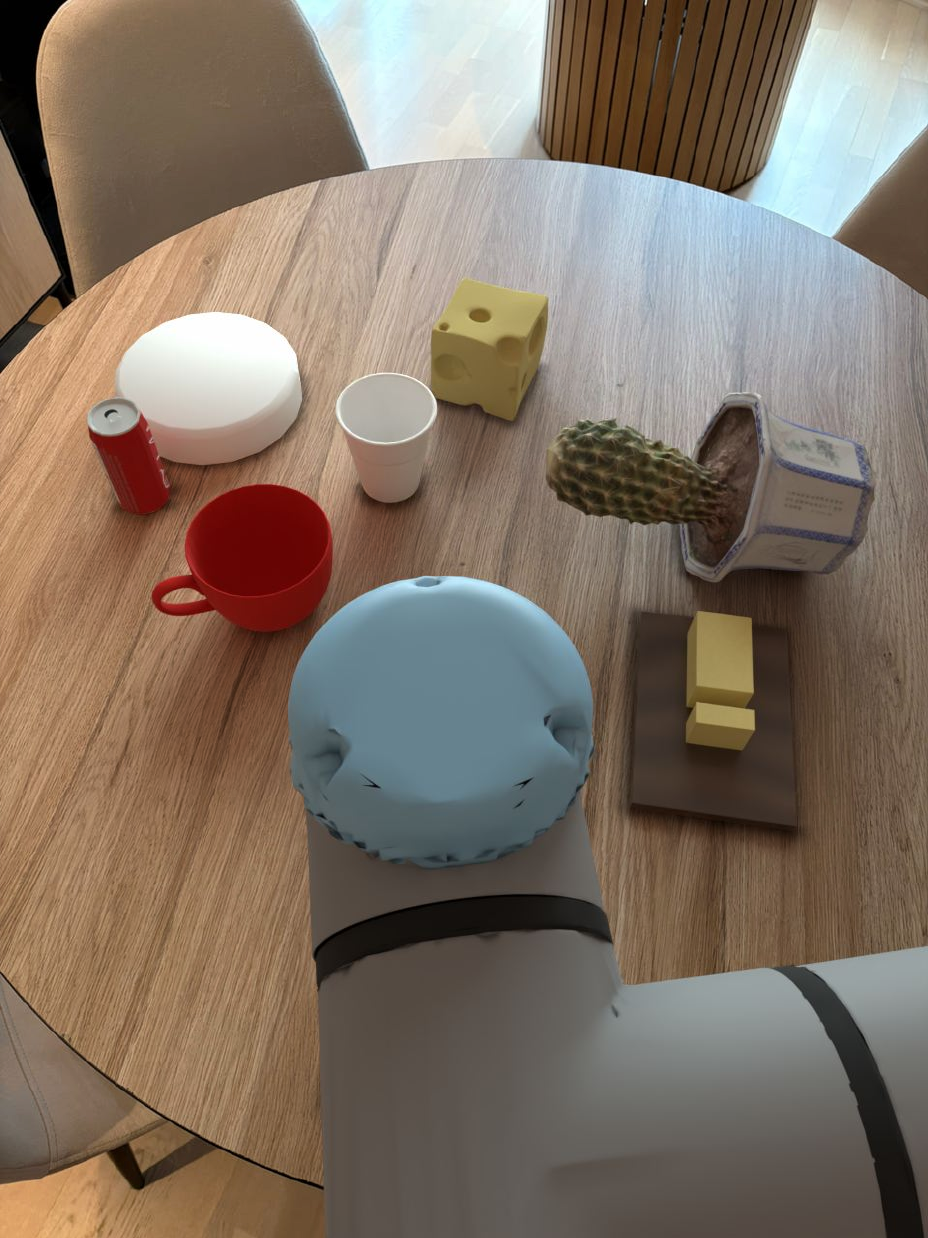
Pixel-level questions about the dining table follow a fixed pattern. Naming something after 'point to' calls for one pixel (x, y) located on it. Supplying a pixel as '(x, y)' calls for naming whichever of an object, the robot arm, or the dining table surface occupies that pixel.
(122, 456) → the soda can
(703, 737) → the block
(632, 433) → the potted plant
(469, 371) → the cheese
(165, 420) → the container
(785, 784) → the board
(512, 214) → the dining table surface
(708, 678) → the butter block
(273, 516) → the ceramic cup
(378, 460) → the cup
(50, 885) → the dining table surface
